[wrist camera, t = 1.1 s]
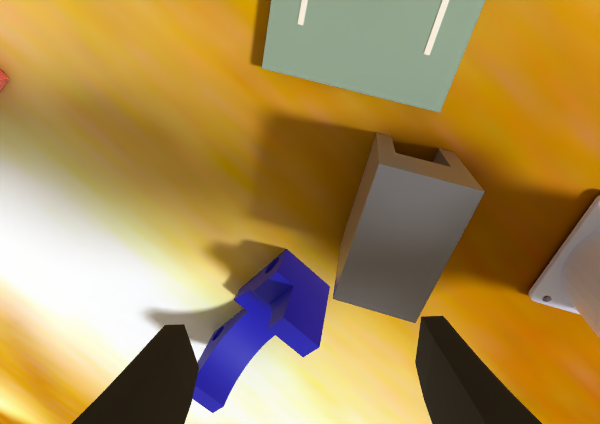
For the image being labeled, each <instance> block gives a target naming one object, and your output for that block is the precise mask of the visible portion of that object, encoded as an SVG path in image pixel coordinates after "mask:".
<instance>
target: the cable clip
mask: <svg viewBox="0 0 600 424" xmlns="http://www.w3.org/2000/svg"><path fill="white" fill-rule="evenodd" d="M329 288H330V286H328V285H327V284H326V283H325V282H324V281H323V280H322V279H320V278H319V277H318V276H317V275H316V274H315V273H314V272H312V271H311V270H310V269H309V268H308V267H307V266H306V265H304V264H303V263H302V262H301V261H300V260H299V259H298V258H296V257H295V256H294V255H293V254H292V253H291V252H290V251H288V250H287V249H286V250H285V251H284V252H282V253H281V254H280V255H279V256H278V257H277V258H276V259H274V260H273V261H272V262H271V263H270V264H269V265H267V266H266V267H265V268H264V269H263V270H262V271H260V272H259V273H258V274H257V275H256V276H255V277H254V278H252V279H251V280H250V281H249V282H248V283H247V284H245V285H244V286H243V287H242V288H241V289H240V290H239V292H238V294H237V295H236V297H235V299H234V300H235V301H236V302H237V303H238V304H239V305H241V306H242V307H243V308H244V309H243V310H241V311H240V312H239V313H238V314H236V315H235V316H234V317H233V318H231V319H230V320H229V321H228V322H227V323H225V324H224V325H223V326H222V327H220V328H219V329H218V330H217V331H215V332H214V334H213V335H212V337H211V339H210V341H209V343H208V345H207V346H206V348H205V350H204V352H203V354H202V355H201V357H200V359H199V361H198V363H197V364H198V366H199V370H198V375H197V380H196V384H195V389H194V393H193V397H192V398H193V399H194V400H195V401H197V402H198V403H199V404H201V405H202V406H204V407H205V408H206V409H208V410H209V411H211V412H212V413H214V412H215V411H217V410H218V409H220V408H222V407H223V406H224V404H225V402H226V400H227V397H228V395H229V393H230V391H231V390H232V388H233V386H234V384H235V382H236V381H237V379H238V377H239V376H240V374H241V373H242V371H243V370H244V368H245V367H246V365H247V364H248V363H249V361H250V360H251V359H252V358H253V356H254V355H255V354H256V353H257V352H258V350H259V349H260V348H261V347H262V346H263V345H264V344H265V343H266V342H267V341H268V340H270V339H271V338H272V337H273V336H275V335H276V336H277V337H279V338H280V339H281V340H282V341H284V342H285V343H286V344H287V345H289V346H290V347H291V348H292V349H294V350H295V351H296V352H297V353H298V354H300V355H301V356H302V357H304V356H306V355H308V354H309V353H311V352H312V351H314V350H316V349H317V348H319V347H320V341H321V335H322V329H323V323H324V318H325V312H326V306H327V300H328V294H329Z"/></svg>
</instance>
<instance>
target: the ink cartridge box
mask: <svg viewBox="0 0 600 424" xmlns="http://www.w3.org/2000/svg"><path fill="white" fill-rule="evenodd" d="M8 80H9V79H8V77H7V76H6V75H5V74H4V73H3V72H2V71H1V69H0V91H1V90H2V88H3V87H4V86H5V84H6V83H7V81H8Z"/></svg>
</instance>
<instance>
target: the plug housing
mask: <svg viewBox="0 0 600 424" xmlns="http://www.w3.org/2000/svg"><path fill="white" fill-rule="evenodd" d="M484 193H485V191H484V190H483V189H482V187H481V186H480V185H479V183H478V182H477V181H476V180H475V178H474V177H473V176H472V175H471V173H470V172H469V171H468V169H467V168H466V167H465V166H464V164H463V163H462V162H461V161H460V159H459V158H458V157H457V156H456V154H455V153H454V152H452V151H448V150H444V149H440V148H438V150H437V153H436V155H435V157H434V160H433V162H429V161H425V160H422V159H418V158H414V157H410V156H406V155H402V154H398V153H395V148H394V144H393V140H392V136H389V135H386V134H382V133H378V132H377V133H376V136H375V139H374V142H373V145H372V148H371V151H370V154H369V157H368V160H367V164H366V167H365V170H364V173H363V176H362V179H361V182H360V185H359V188H358V191H357V194H356V198H355V201H354V204H353V207H352V210H351V213H350V216H349V219H348V222H347V225H346V228H345V232H344V235H343V238H342V241H341V246H340V253H339V260H338V266H337V273H336V280H335V287H334V294H333V299H335V300H339V301H342V302H345V303H349V304H352V305H356V306H359V307H362V308H366V309H369V310H373V311H376V312H379V313H383V314H386V315H390V316H393V317H396V318H400V319H403V320H406V321H410V322H413V323H416V321H417V319H418V317H419V315H420V313H421V311H422V310H423V308H424V306H425V304H426V302H427V300H428V298H429V296H430V295H431V293H432V291H433V289H434V287H435V285H436V283H437V281H438V279H439V278H440V276H441V274H442V272H443V270H444V268H445V266H446V264H447V262H448V261H449V259H450V257H451V255H452V253H453V251H454V249H455V247H456V245H457V244H458V242H459V240H460V238H461V236H462V234H463V232H464V230H465V228H466V227H467V225H468V223H469V221H470V219H471V217H472V215H473V213H474V212H475V210H476V208H477V206H478V204H479V202H480V200H481V198H482V196H483V195H484Z"/></svg>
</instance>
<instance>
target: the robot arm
mask: <svg viewBox="0 0 600 424" xmlns="http://www.w3.org/2000/svg"><path fill="white" fill-rule="evenodd" d="M528 294H529V297H530V298H531V300H532V301H534V302H538V303H541V304H545V305H548V306H552V307H555V308H559V309H563V310H566V311H570V312H573V313H577V314H580V315H581V316H582V317H583V318H584V320H585V321H586V322H587V324H588V325H589V326H590V327H591V329H592V330H593V331H594V333H595V334H596V335H597V336H598V338H599V339H600V195H599V196H598V197H597V198H596V199H595V200H594V201H593V203H592V204H591V206H590V207H589V208H588V210H587V211H586V213H585V214H584V215H583V217H582V218H581V219H580V221H579V222H578V224H577V225H576V226H575V228H574V229H573V231H572V232H571V233H570V235H569V236H568V238H567V239H566V240H565V242H564V243H563V245H562V246H561V247H560V249H559V250H558V252H557V253H556V254H555V256H554V257H553V259H552V260H551V261H550V263H549V264H548V266H547V267H546V268H545V270H544V271H543V272H542V274H541V275H540V277H539V278H538V279H537V281H536V282H535V284H534V285H533V286H532V288H531V289H530V291H529V293H528ZM544 296H547V297H546V298H543V297H544ZM415 363H416V368H417V372H418V376H419V381H420V385H421V389H422V393H423V397H424V400H425V403H426V406H427V409H428V412H429V415H430V418H431V421H432V424H542V423H541V422H540V421H539V420H538V419H537V418H536V417H535V416H534V415H533V414H532V413H531V412H530V411H529V410H528V409H527V408H526V407H525V406H524V405H523V404H522V403H521V402H520V401H519V400H518V399H517V398H516V397H515V396H514V395H513V394H512V393H511V392H510V391H509V390H508V389H507V388H506V387H505V386H504V384H503V383H502V382H501V381H500V380H499V379H498V378H497V377H496V376H495V375H494V374H493V373H492V372H491V371H490V369H489V368H488V367H487V366H486V365H485V364H484V363H483V362H482V361H481V360H480V358H479V357H478V356H477V355H476V354H475V353H474V352H473V350H472V349H471V348H470V347H469V346H468V345H467V343H466V342H465V341H464V340H463V339H462V338H461V336H460V335H459V334H458V333H457V332H456V331H455V329H454V328H453V327H452V326H451V325H450V323H449V322H448V321H447V320H446V319H445V318H444V317H443V316H429V317H421V324H420V331H419V339H418V347H417V354H416V362H415ZM198 370H199V366H198V364H197V361H196V358H195V355H194V352H193V349H192V346H191V343H190V340H189V337H188V334H187V331H186V329H185V326H184V325H165V326H164V327H163V328H162V329H161V330H160V331H159V332H158V333H157V334H156V335H155V337H154V338H153V339H152V340H151V341H150V342H149V343H148V344H147V345H146V346H145V347H144V349H143V350H142V351H141V352H140V353H139V354H138V355H137V356H136V357H135V358H134V360H133V361H132V362H131V363H130V364H129V365H128V366H127V367H126V368H125V369H124V370H123V371H122V373H121V374H120V375H119V376H118V377H117V378H116V379H115V380H114V381H113V382H112V383H111V384H110V385H109V386H108V387H107V388H106V390H105V391H104V392H103V393H102V394H101V395H100V396H99V397H98V398H97V399H96V400H95V401H94V402H93V403H92V404H91V405H90V406H89V407H88V408H87V409H86V410H85V411H84V412H83V413H82V414H81V415H80V416H79V417H78V418H77V419H76V420H75V421H74V422H73V423H72V424H184V423H185V420H186V417H187V414H188V411H189V408H190V405H191V401H192V397H193V393H194V389H195V384H196V380H197V375H198Z"/></svg>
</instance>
